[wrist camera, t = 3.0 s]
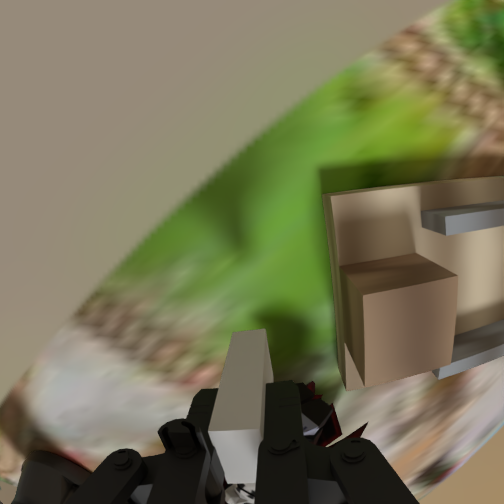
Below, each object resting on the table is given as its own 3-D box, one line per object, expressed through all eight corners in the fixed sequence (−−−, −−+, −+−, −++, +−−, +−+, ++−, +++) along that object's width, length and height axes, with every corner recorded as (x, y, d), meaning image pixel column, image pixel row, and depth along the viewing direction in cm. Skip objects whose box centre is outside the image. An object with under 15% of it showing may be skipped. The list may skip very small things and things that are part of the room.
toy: (327, 503, 11) (252, 574, 15) (419, 423, 16) (332, 523, 21) (193, 358, 19) (176, 476, 24) (299, 334, 25) (256, 447, 30)
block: (344, 342, 19) (364, 387, 14) (338, 265, 18) (362, 295, 13) (416, 326, 19) (450, 364, 14) (416, 252, 18) (458, 275, 13)
